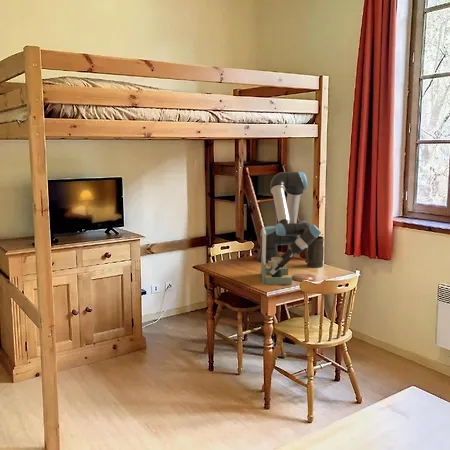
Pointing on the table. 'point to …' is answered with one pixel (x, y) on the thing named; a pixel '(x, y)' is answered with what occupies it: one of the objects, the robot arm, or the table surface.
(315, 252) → the beer stein
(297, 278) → the terracotta saucer
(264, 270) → the grey-green stand
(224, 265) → the table surface
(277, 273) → the character mug
